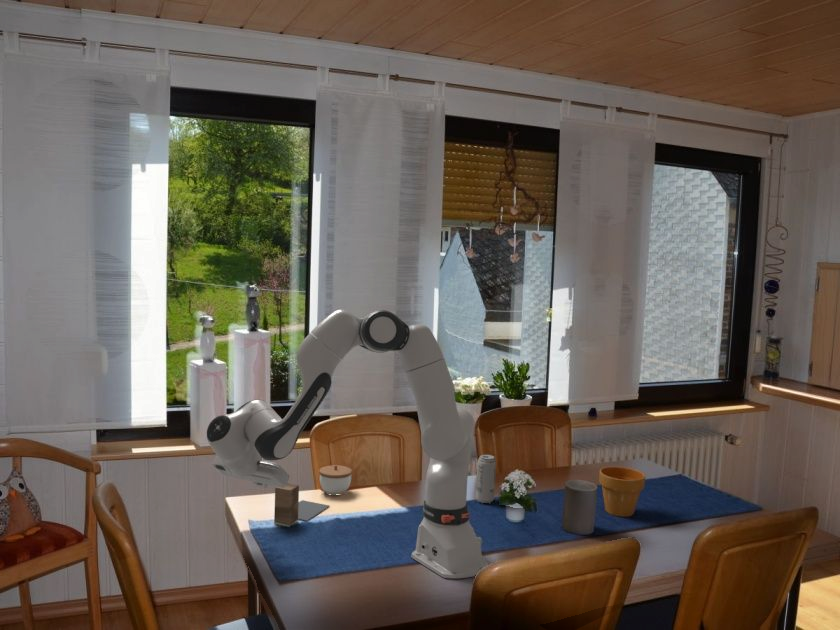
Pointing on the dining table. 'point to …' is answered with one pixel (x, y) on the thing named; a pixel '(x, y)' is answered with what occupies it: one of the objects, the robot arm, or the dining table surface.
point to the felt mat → (309, 510)
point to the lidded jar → (335, 479)
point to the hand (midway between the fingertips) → (263, 485)
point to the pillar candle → (579, 507)
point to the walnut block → (286, 505)
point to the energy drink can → (485, 479)
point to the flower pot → (621, 489)
